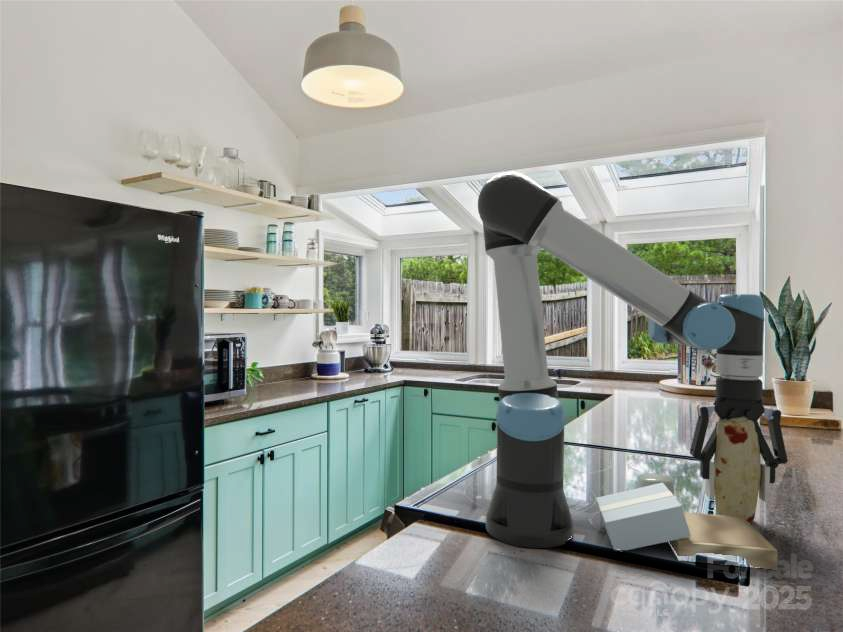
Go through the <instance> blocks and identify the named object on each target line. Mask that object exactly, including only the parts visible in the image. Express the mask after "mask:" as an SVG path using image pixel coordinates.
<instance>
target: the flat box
mask: <svg viewBox="0 0 843 632" xmlns="http://www.w3.org/2000/svg"><path fill="white" fill-rule="evenodd" d="M595 499H596V502H597V507H598V508H599V512H600V516H601V519H602V522H603V525H604V528H605V530H606V533H607V537H608V536H609V537H608V539H609V538H610V540H609V542H610V541H611V542H610V544H611V546H613V547H612V549H620V550H625V551H629V550H634V549H638V548H639V549H640V548H643V547H647V546H654V545H658V544H664V543H667V542H668V541H673V540H677V539H682V538H687V537H691V535H690V531H689V528H688V525H687V522H686V519H685V515H684V510H683V506H682V505H681V503H680V502H679V501H678V500H677V499H676V497H675V494H674V495H673V494H672V493H671V491H669V490H668V488H667V487H666V486H665V485H664V483H659V484H654V485H650V486H645V487H641V488H638V487H637V488H632V489H629V490H624V491H619V492H615V493H610V494H607V495H603V496H599V497H595Z"/></svg>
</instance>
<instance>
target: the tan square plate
mask: <svg viewBox="0 0 843 632" xmlns="http://www.w3.org/2000/svg"><path fill="white" fill-rule="evenodd" d="M683 512H684V511H683ZM684 515H685V519H686V522H687V525H688V528H689V531H690V535H691V537H687V538H682V539H677V540H673V541H669V542H670V544H671V545H672V547H673V548H674V550H675V551H676V553H677V555H678V556H685V557H686V556H693V555H695V554H696V553H714V554H722V555H733V556H740V557H742V558H745V559H746V560H747V562H748V563H749V564H750V565H751V566H753V567H758V568H759V567H760V568H765V569H764V570H767V569H774V570H773V571H778V550H777V549H776V547H774V546H773V545H772V544H771V543H770V542H769V540H767V539H766V538H765V537H764V536H763V535H762V534H761V533H760V532H759V531H758V530H757V529H756V528H755V527H754V526H752V524H751V523H748V522H747V521H746V520H745V519H744V518H743V517H737V516H724V515H717V514H712V513H711V514H708V513H697V512H695V513H694V512H684Z"/></svg>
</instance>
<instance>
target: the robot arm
mask: <svg viewBox="0 0 843 632" xmlns="http://www.w3.org/2000/svg"><path fill="white" fill-rule="evenodd" d="M477 211H478V214H479V217H480V220H481V222H482V228H483V237H484V238H483V239H484V251H485V254H486V255H487V256H488V257H489V258H490V259H492V260H493V263H494V275H495V286H496V287H495V288H496V296H497V308H498V309H497V310H498V318H499V319H498V321H499V330H500V340H501V353H502V361H503V373H504V378H503V381H502V382H501V383H500V384H499V385H498V386H497V387H498V397H499V402H498V405H497V411H496V414H495V418H496V419H495V420H496V423H497V424H496V430H497V431H496V482H495V483H496V484H495V488H494V491H493V493H492V496H491V500H490V502H489V505H488V509H487V511H486V515H485V529H486V532H487V533H488V534H489V535H490V536H491V537H493V538H495V540H498V541H500V542H502V543H505V544H508V545H512V546H516V547H522V548H530V549H546V548H547V549H548V548H555V547H560V546H563V545H565V544H566V543H565V542H566V541H567V540H568V539H569V538H571V536H572V535H573V536H574V520H573V516H572V514H571V511H570V507H569V503H568V501H567V497H566V494H565V490H564V472H565V471H564V468H565V467H564V464H565V463H564V461H565V459H564V458H565V457H564V456H565V425H566V422H567V419H566V415H565V407H564V404H563V403H562V402H561V401H560V400H559V393H558V386H557V385H558V384H557V381H555V380H554V379H553V378H551V377H550V375H549V371H548V370H549V369H548V361H547V347H546V338H545V330H544V318H543V317H544V316H543V308H542V307H543V306H542V296H541V287H540V277H539V276H540V275H539V274H540V273H539V265H538V255H539V254H540V253H541V251H542V250H544V251H546V252H547V253H549V254H551V255H552V256H554V257H555V258H557V259H558V260H560V261H561V262H563V263H565V264H566V265H567V266H568V267H570V268H572V269H573V270H575V271H576V272H578V273H580V274H581V275H583V277H586V278H588V279H589V280H590V281H592V282H593V283H595V284H596V285H598V286H600V287H601V288H602V289H604V290H605V291H607V292H609V293H610V294H611V295H613V296H615V297H617V298H618V299H619V300H621V301H622V302H624V303H625V304H627V305H628V306H630V307H631V308H633V309H635V311H638V312H639V313H641V314H642V315H644V316H645V317H647V318H648V323H647V324H648V328H647V329H648V334H649V335H648V336H649V338H650V340H651V341H652V342H653V343H655V344H663V345H664V344H665V345H682V346H687V347H691V348H695V349H697V350H700V351H710V350H716V363H715V366H716V367H715V373H716V374H717V375H719V376H718V377H716V378H715V400H714V402H713V403H712V404H711V405H703V404H699V405H697V406H696V410H697V420H696V421H697V422H696V425H695V430H694V433H693V437H692V441H691V446H690V450H689V454H690V455H691V456H692V457H693V458H695V459H697V460H699V461H700V465H699V466H700V467H699V470H700V471H699V474H700V477H701V478H702V479H703V480H705V486H704V487H705V492H704V493H705V496H707V497H708V498H709V499H714V500H715V464H714V461H712V459H713V457H714V456H715V452H716V442H717V422H716V423H715V427H714V428H713V430H712V432H711V434H710V436H709V438H708V439H707V442H706V443H705V445H704V442H705V438H706V434H707V430H708V428H709V427H708V425H709V422H710V418H711V417H712V415H713V413H715V414H716V415H717V417H718V418H720V419H721V420H723V419H726V420H730V419H731V418H739V417H743V416H745V417H747V418H748V420H751V421H753V422H754V425H755V431H756V432H757V436H758V442H759V445H760V456H761V458H762V460H763V461H764V462H761V478H760V485H759V492H758V498H759V499H760V500H761V501H762V502H764V503H770V494H771V493H770V491H771V490H770V489H771V488H770V487H771V484H775V483H776V468H778V467H779V465H781V464H784V465H785V464H787V463H788V461H789V460H788V456H787V450H786V446H785V441H784V437H783V432H782V427H781V424H780V423H781V420H782V419H781V418H782V410H780V409H777V408H774V407H764V404H763V381H762V379H759V378H761V377H762V376H763V374H764V373H763V371H764V370H763V369H764V367H763V366H764V365H763V363H764V359H763V358H764V351H763V350H764V332H765V331H764V330H765V328H764V326H765V308H764V307H765V306H764V299H763V297H761V296H760V295H758V294H752V293H751V294H750V293H746V294H745V293H744V294H743V293H742V294H741V293H740V294H739V293H737V294H736V293H735V294H732V293H731V294H728V293H727V294H726V293H725V294H719V295H718V297H717V301H716V302H712V301H711V302H708V301H707V300H706V299H704V298H702V297H701V296H700V295H698V294H696V293H694V292H693V291H691V290H690V289H688V288H687V287H686V286H684V285H683V284H682V283H681V284H680V283H679V282H678V281H676V280H674V279H673V278H672V277H670V276H669V275H666V274H665V273H664V272H662V271H660V270H659V269H657V268H656V267H655V266H653V265H651V264H650V263H648V262H647V261H645V260H644V259H642V258H641V257H639V256H638V255H636V254H634V253H633V252H631V251H630V250H628V249H627V248H625V247H624V246H622V245H620V244H619V243H617V242H615V241H614V240H612V239H611V238H609V237H608V236H606V235H605V234H603V233H602V232H600V231H599V230H598V229H596V228H594V227H593V226H592V225H591V226H590V225H589V224H588V223H586V222H584V221H583V220H581V219H580V218H579V217H577V216H576V215H573V214H572V213H570V212H569V211H567V210H566V209H564V206H563V202H562V199H560V197H559V198H558V197H557V196H555V194H553V193H551V192H549V191H548V190H547V189H545V188H544V187H543V186H542V185H540V184H539V183H537V182H536V181H534V180H533V179H531V178H530V177H529V176H526V175H524V174H523V173H521V172H516V171H507V172H502V173H499V174H496V175H494V176H493V177H491V178H490V179H489V180H488V181H486V182H485V184H484V185H483V187H481V190H480V192H479V194H478V198H477ZM763 415H764V418H765V419H766V421H767V427H768V433H769V438H770V442H771V446H772V450H773V451H772V450H771V449H770V446H769V444H768V442H767V441H766V438H765V437H764V435H763V432H762V429H761V425H759V421H758V420H759V419H760V418H761V417H762V416H763ZM757 421H758V422H757ZM703 446H704V447H703Z"/></svg>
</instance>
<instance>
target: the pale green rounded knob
mask: <svg viewBox="0 0 843 632" xmlns="http://www.w3.org/2000/svg"><path fill="white" fill-rule="evenodd" d="M659 483H664V485H665V486H666V487H667V488H668V490H669V491H671V493H672V494H673V495H674V496H675V479H674V478H673V477H671V476H668V475H666V474H665V475H664V474H659V473H641V474H639V475H638V476H637V488H641V487H645V486H650V485H654V484H659Z"/></svg>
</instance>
